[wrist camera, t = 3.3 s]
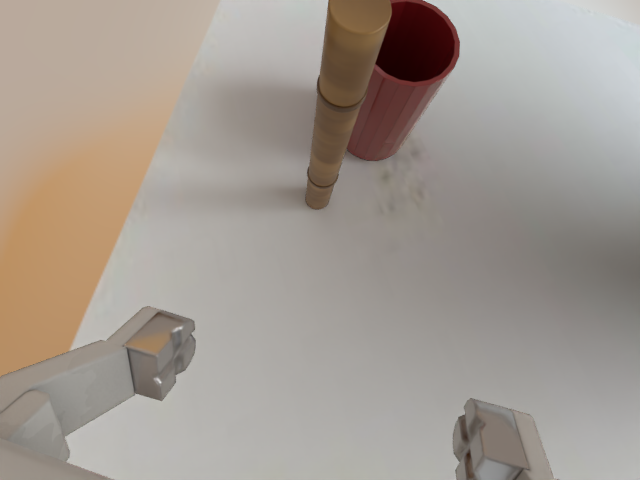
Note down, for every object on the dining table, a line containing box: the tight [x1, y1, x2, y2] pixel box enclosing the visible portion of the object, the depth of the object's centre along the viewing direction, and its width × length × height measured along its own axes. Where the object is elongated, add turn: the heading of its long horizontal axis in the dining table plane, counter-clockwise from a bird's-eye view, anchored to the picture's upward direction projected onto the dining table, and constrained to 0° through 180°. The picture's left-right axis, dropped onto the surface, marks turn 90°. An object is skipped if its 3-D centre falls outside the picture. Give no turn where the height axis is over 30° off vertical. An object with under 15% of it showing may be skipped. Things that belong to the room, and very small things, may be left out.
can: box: [347, 0, 460, 161], centre depth 29 cm, size 7×7×12 cm
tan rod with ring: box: [305, 0, 392, 209], centre depth 22 cm, size 2×2×21 cm
